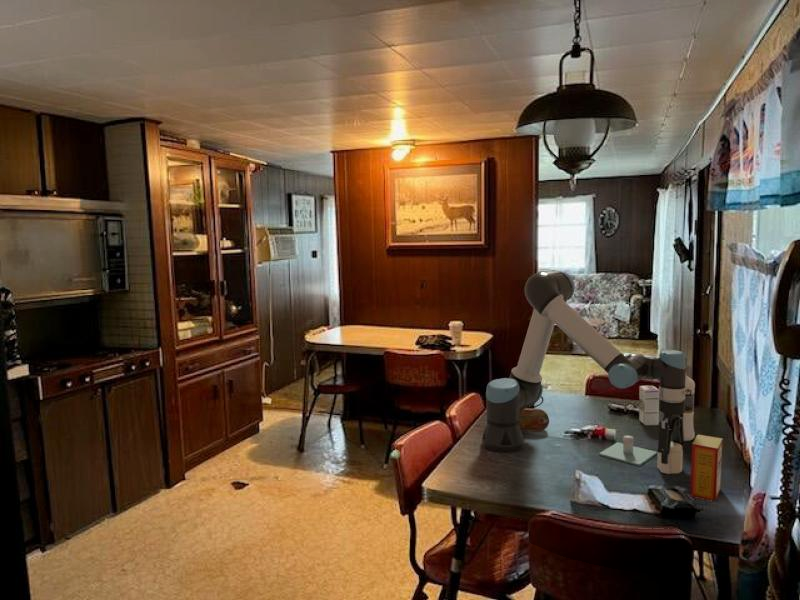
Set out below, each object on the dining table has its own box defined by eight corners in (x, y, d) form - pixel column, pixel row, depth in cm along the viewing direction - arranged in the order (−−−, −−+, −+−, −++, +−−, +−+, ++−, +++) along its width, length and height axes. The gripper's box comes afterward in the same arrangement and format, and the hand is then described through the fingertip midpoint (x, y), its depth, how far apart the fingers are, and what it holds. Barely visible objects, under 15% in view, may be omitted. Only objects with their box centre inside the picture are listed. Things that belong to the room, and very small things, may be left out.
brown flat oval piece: (509, 429, 227) (509, 409, 226) (509, 427, 230) (509, 406, 229) (549, 432, 223) (549, 410, 222) (548, 429, 226) (549, 408, 225)
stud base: (639, 466, 190) (640, 448, 189) (599, 454, 200) (599, 437, 199) (657, 453, 200) (657, 436, 199) (617, 443, 210) (617, 427, 209)
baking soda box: (696, 484, 176) (697, 433, 174) (720, 489, 172) (722, 437, 170) (690, 496, 168) (692, 442, 166) (715, 501, 164) (717, 447, 162)
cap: (676, 475, 182) (677, 450, 181) (654, 469, 187) (655, 445, 186) (684, 468, 187) (685, 444, 186) (663, 463, 192) (663, 439, 191)
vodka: (688, 432, 218) (691, 354, 215) (698, 442, 209) (701, 360, 205) (662, 432, 219) (665, 354, 215) (671, 441, 210) (674, 360, 206)
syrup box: (659, 425, 227) (660, 389, 226) (643, 425, 228) (644, 389, 226) (653, 420, 233) (653, 385, 231) (638, 420, 233) (639, 385, 231)
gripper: (671, 409, 174) (670, 482, 177) (696, 394, 189) (694, 462, 191) (646, 404, 180) (645, 475, 182) (672, 390, 194) (671, 456, 197)
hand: (670, 468), depth 187 cm, fingers open, 8 cm apart
